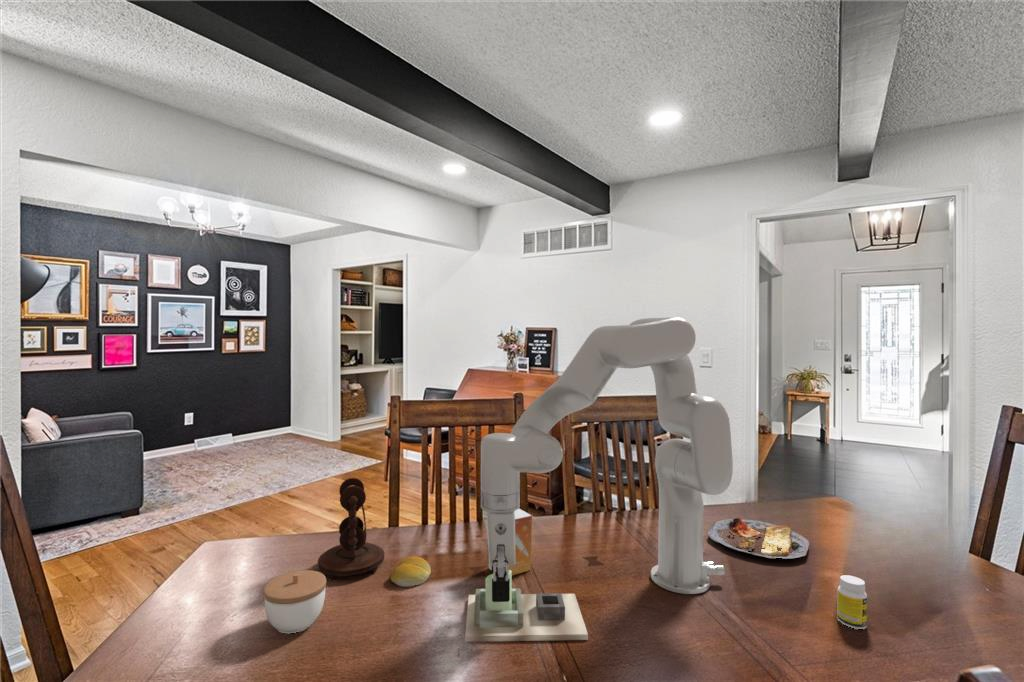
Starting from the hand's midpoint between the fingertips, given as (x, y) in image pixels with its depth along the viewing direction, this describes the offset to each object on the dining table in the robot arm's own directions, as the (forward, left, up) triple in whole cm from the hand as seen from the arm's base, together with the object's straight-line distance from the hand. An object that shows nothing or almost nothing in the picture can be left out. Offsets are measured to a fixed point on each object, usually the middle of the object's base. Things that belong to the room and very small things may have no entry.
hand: (500, 587), depth 95 cm
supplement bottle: (-68, +3, -6) cm, 68 cm away
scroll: (+34, -22, -6) cm, 41 cm away
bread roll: (+20, -17, -7) cm, 27 cm away
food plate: (-70, -34, -7) cm, 78 cm away
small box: (-3, -20, -6) cm, 21 cm away
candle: (0, +1, -5) cm, 5 cm away
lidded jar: (+38, +1, -6) cm, 39 cm away
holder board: (-5, 0, -6) cm, 8 cm away
